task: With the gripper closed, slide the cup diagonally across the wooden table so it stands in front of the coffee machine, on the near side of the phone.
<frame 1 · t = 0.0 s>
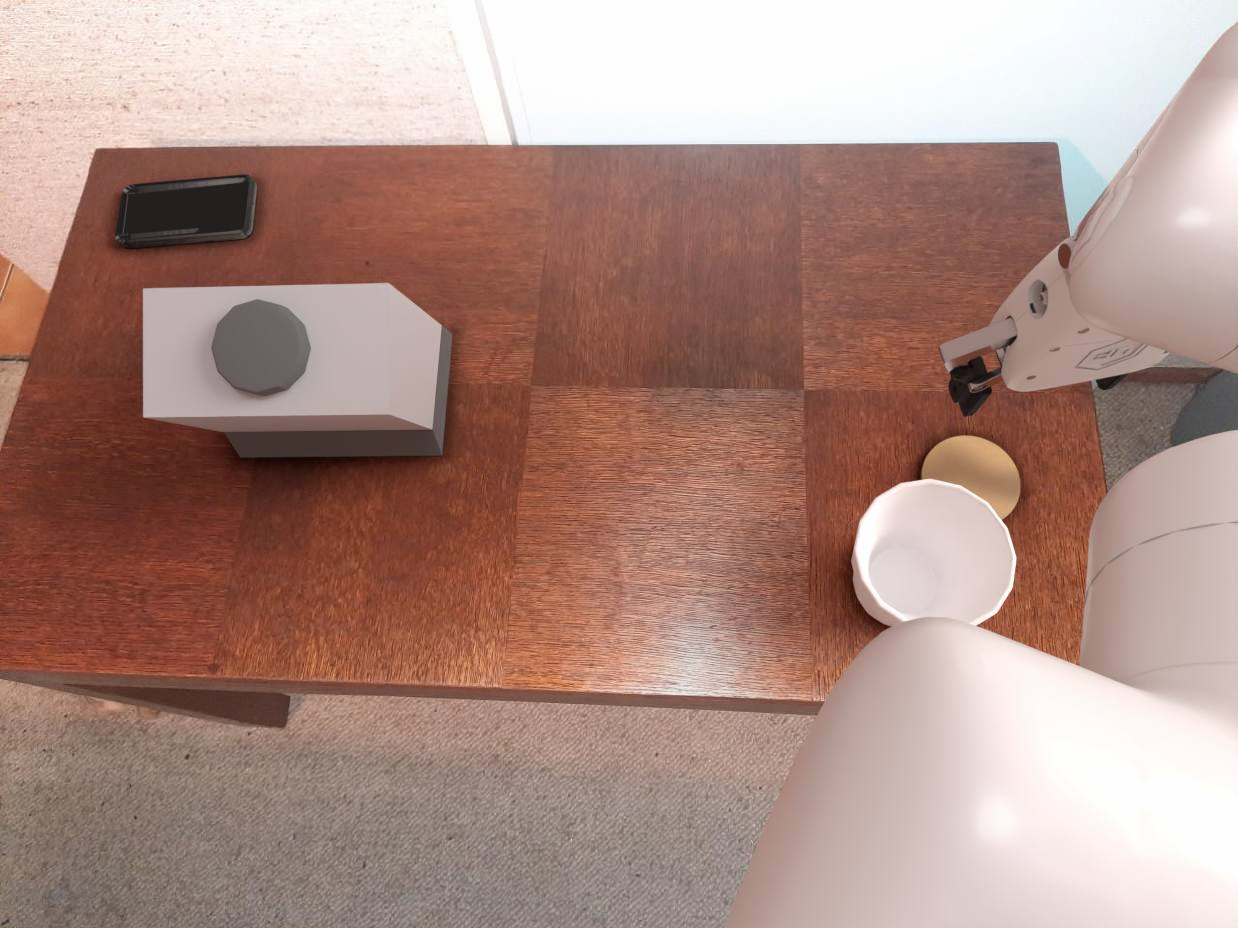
hand: (1028, 384, 60), 22 cm above the table, tool pointing down, fingers open, 9 cm apart
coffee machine: (347, 406, 87), on the table
coaster: (969, 481, 80), on the table
cup: (899, 582, 78), on the table
phone: (190, 215, 96), on the table
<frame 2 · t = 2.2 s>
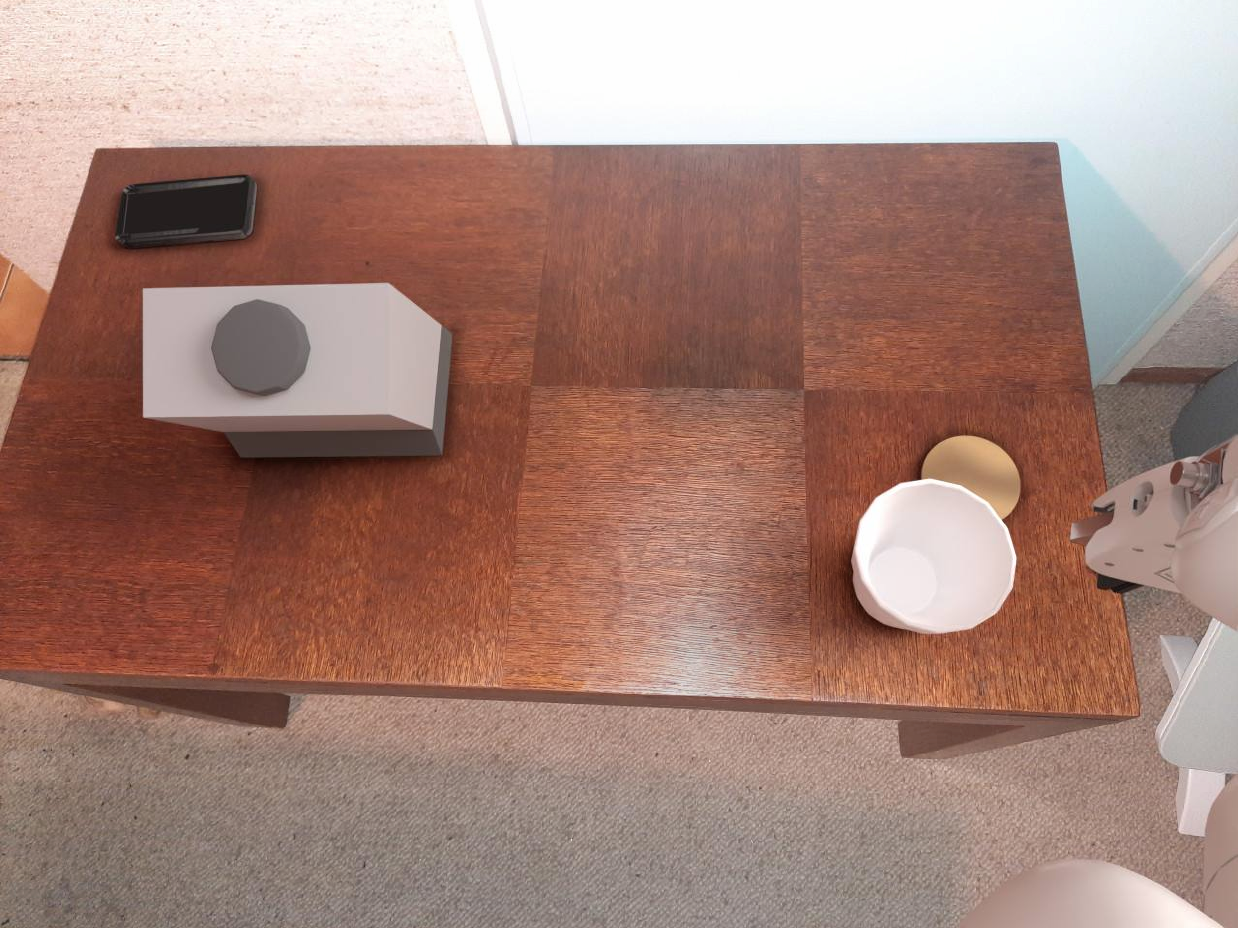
hand: (1109, 570, 62), 15 cm above the table, tool pointing down, fingers closed
nothing on the table moved.
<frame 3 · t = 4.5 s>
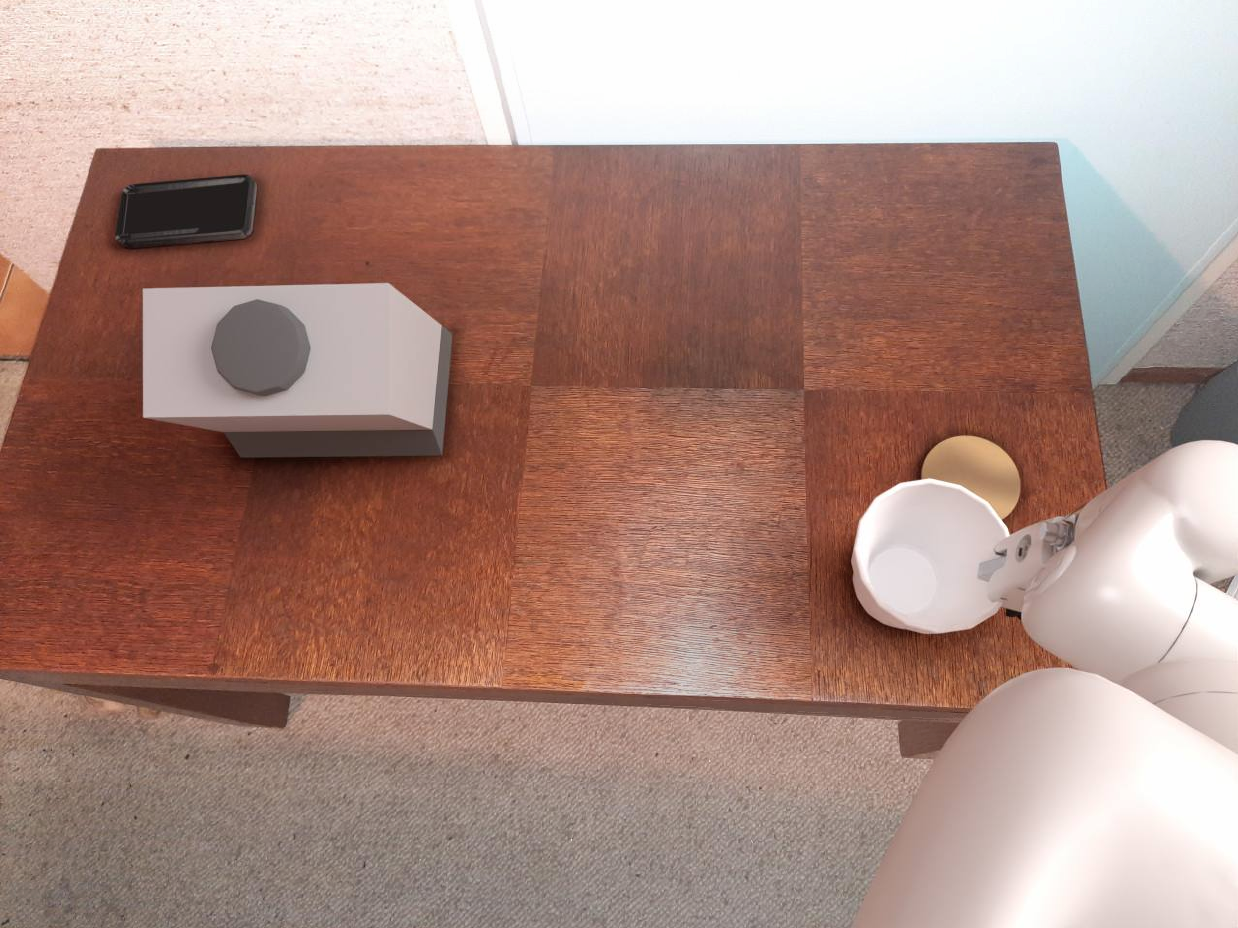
hand: (1016, 601, 74), 2 cm above the table, tool pointing down, fingers closed
cup: (899, 582, 78), on the table, touching gripper
everything else where it was.
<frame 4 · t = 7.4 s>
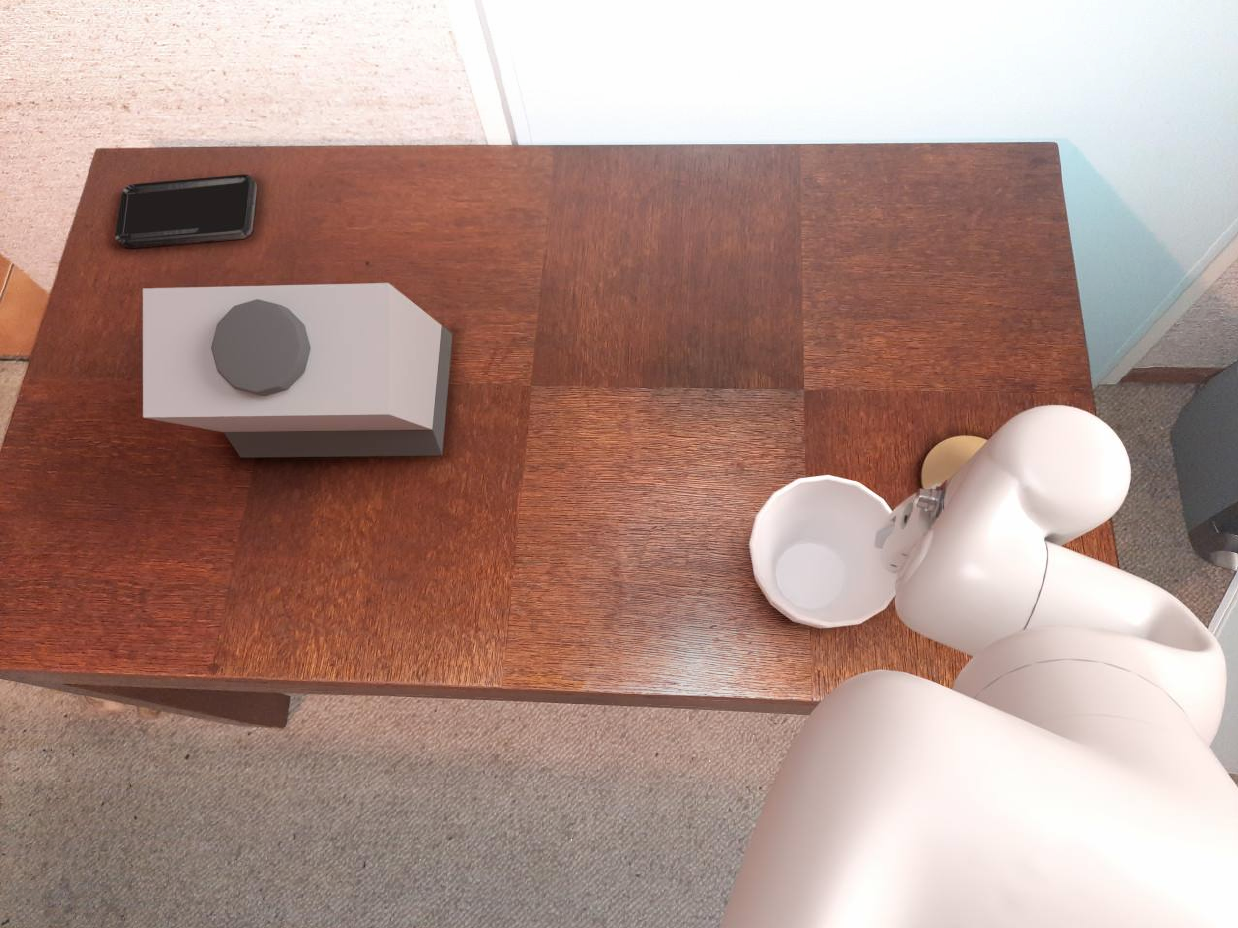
hand: (920, 570, 75), 2 cm above the table, tool pointing down, fingers closed
cup: (807, 577, 78), on the table, touching gripper
everything else where it was.
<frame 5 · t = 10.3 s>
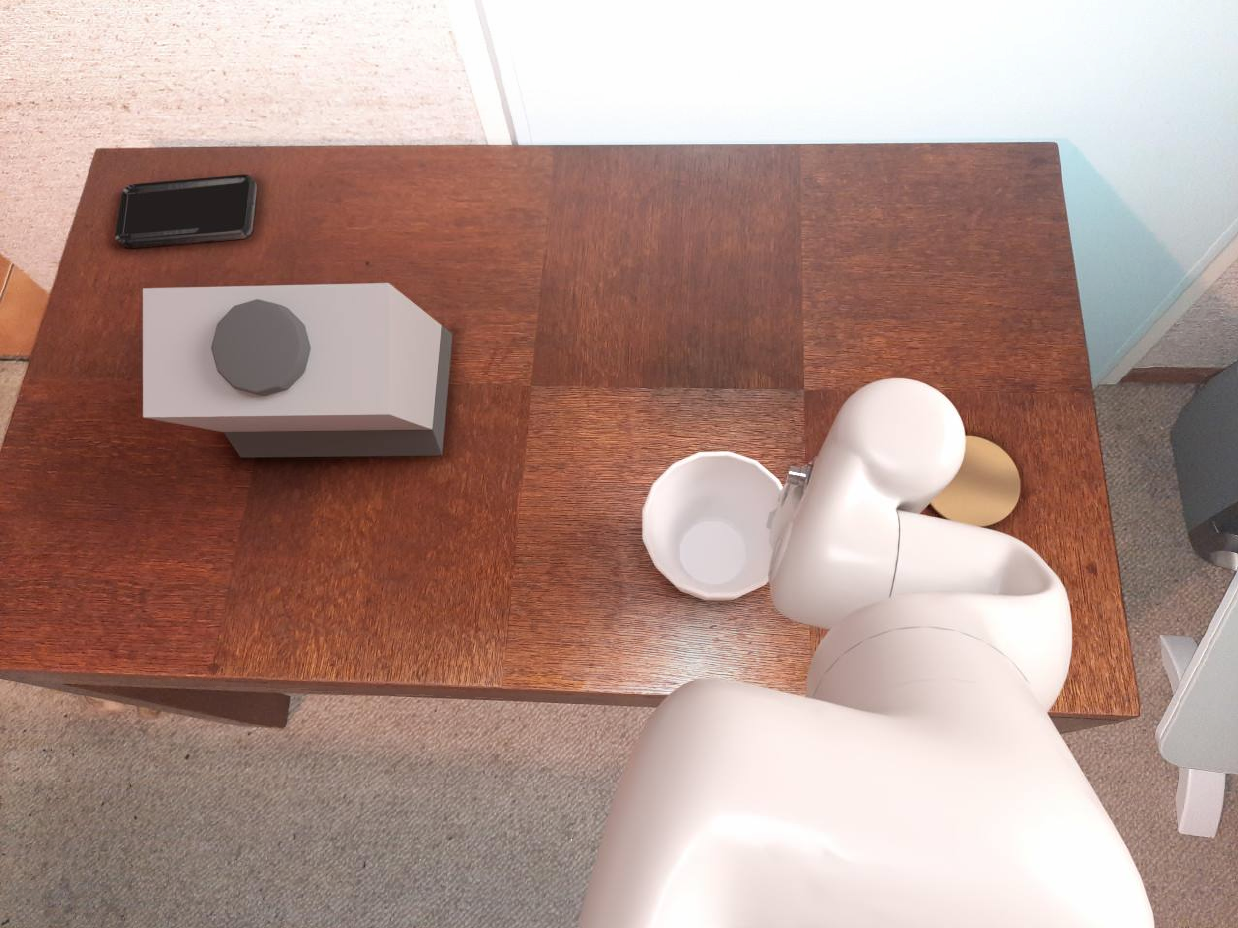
hand: (819, 553, 77), 2 cm above the table, tool pointing down, fingers closed
cup: (712, 554, 80), on the table, touching gripper
everything else where it was.
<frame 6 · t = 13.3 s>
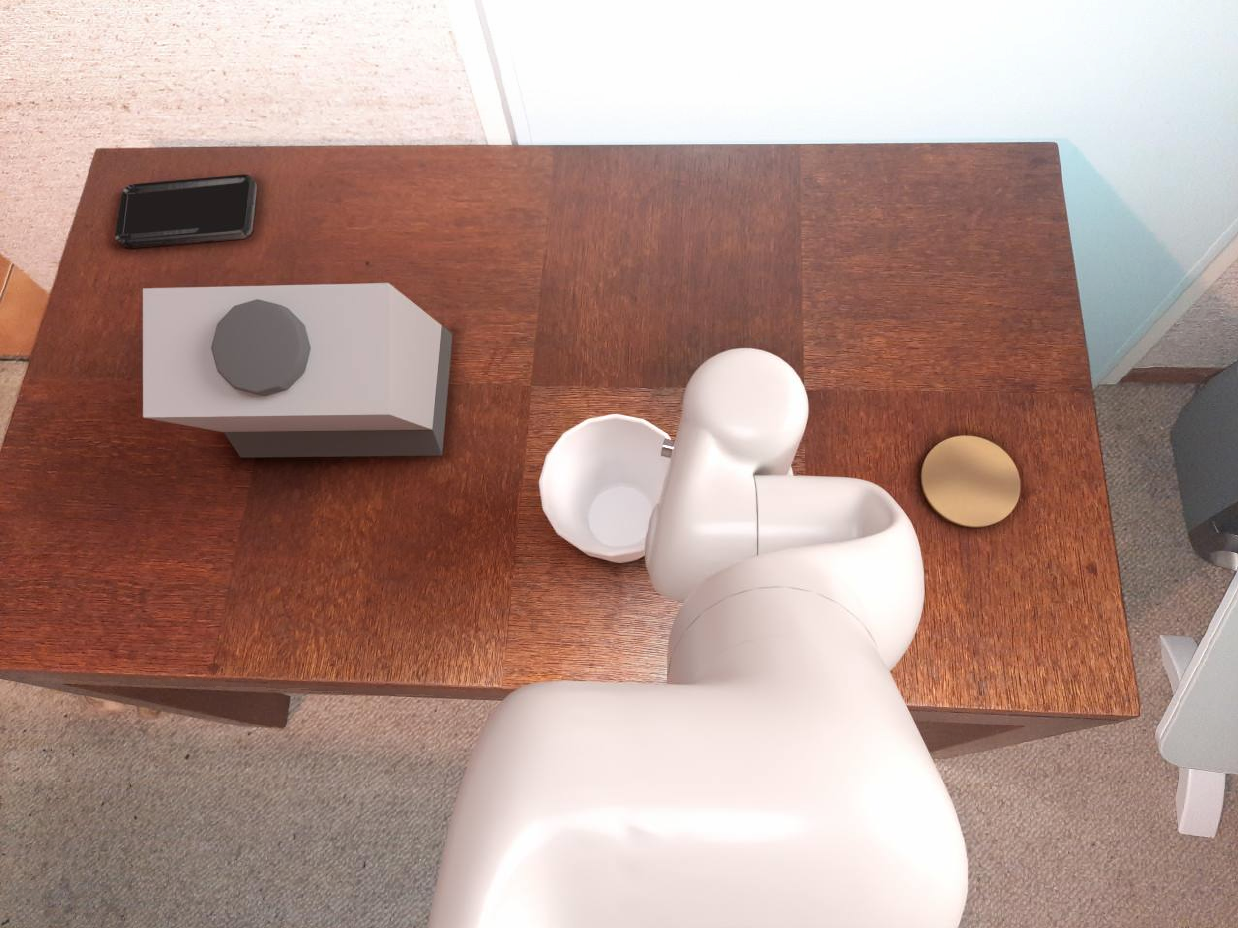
hand: (720, 532, 78), 2 cm above the table, tool pointing down, fingers closed
cup: (621, 519, 81), on the table, touching gripper
everything else where it was.
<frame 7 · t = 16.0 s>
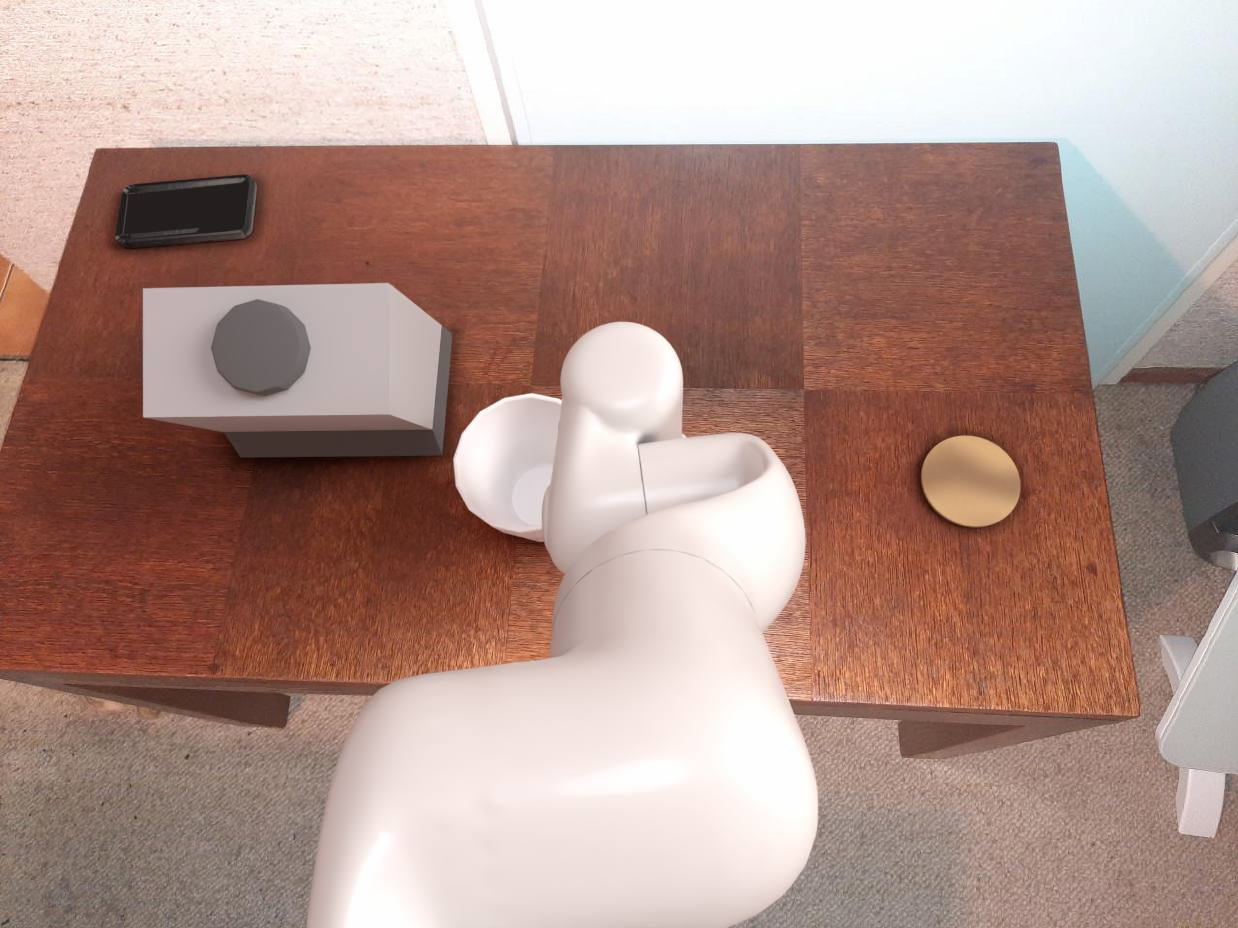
hand: (639, 511, 79), 2 cm above the table, tool pointing down, fingers closed
cup: (544, 499, 82), on the table, touching gripper
everything else where it was.
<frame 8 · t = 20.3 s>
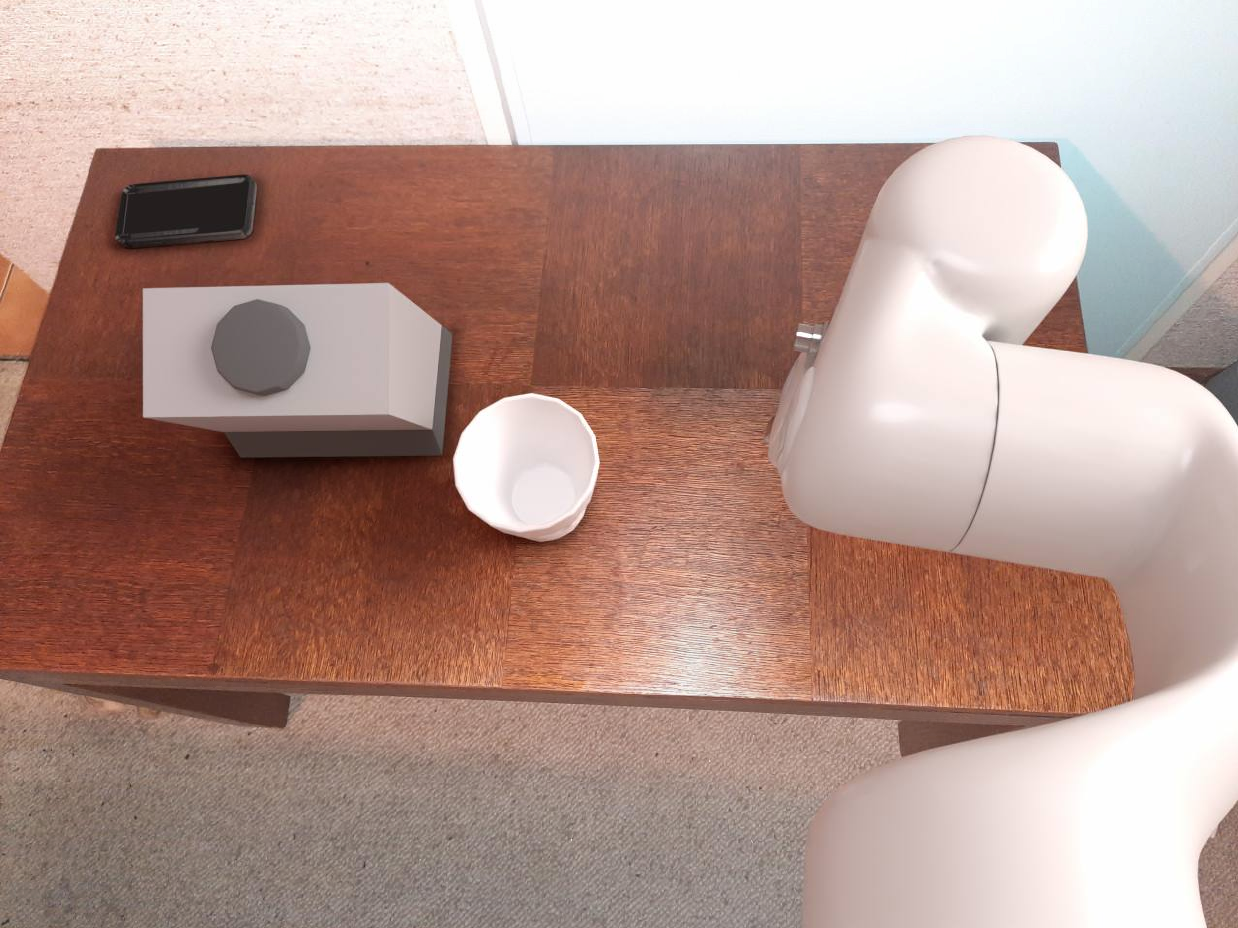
hand: (834, 483, 58), 22 cm above the table, tool pointing down, fingers closed
cup: (544, 499, 82), on the table
everything else where it was.
at the end: cup inside the target area on the table beside the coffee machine (2.5 cm from its centre), on the table; cup tilted 0° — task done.
